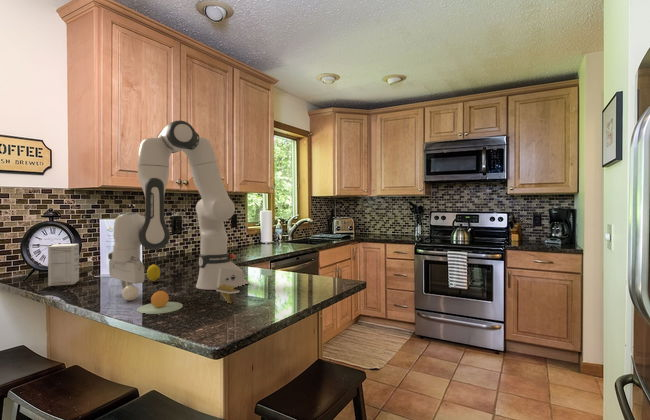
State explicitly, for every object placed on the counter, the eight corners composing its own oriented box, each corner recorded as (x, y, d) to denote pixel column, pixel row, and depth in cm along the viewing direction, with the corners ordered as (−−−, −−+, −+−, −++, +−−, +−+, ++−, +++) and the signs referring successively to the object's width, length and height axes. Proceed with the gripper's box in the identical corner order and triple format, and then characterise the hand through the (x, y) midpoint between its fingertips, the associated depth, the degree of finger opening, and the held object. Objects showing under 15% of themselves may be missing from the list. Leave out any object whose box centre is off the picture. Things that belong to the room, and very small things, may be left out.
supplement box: (79, 280, 160) (80, 243, 160) (74, 284, 152) (75, 245, 152) (53, 281, 156) (54, 243, 156) (47, 286, 148) (47, 246, 148)
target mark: (173, 300, 129) (173, 299, 129) (189, 308, 119) (189, 307, 119) (131, 307, 119) (131, 306, 119) (144, 316, 109) (144, 316, 109)
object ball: (174, 298, 120) (167, 306, 123) (166, 285, 121) (159, 293, 124) (160, 305, 116) (153, 313, 118) (152, 291, 117) (145, 299, 119)
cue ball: (139, 283, 127) (144, 296, 129) (131, 281, 131) (136, 294, 132) (123, 290, 123) (129, 304, 125) (116, 288, 127) (122, 302, 128)
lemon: (162, 280, 162) (162, 263, 162) (155, 283, 157) (155, 265, 157) (151, 280, 163) (151, 262, 163) (143, 282, 157) (144, 264, 157)
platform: (231, 311, 117) (231, 292, 117) (195, 303, 127) (195, 285, 127) (256, 303, 128) (256, 285, 128) (221, 296, 137) (221, 279, 137)
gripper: (149, 257, 129) (149, 294, 130) (123, 252, 141) (122, 286, 142) (131, 259, 124) (131, 298, 124) (105, 254, 136) (105, 289, 136)
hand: (126, 292), depth 133 cm, fingers closed
